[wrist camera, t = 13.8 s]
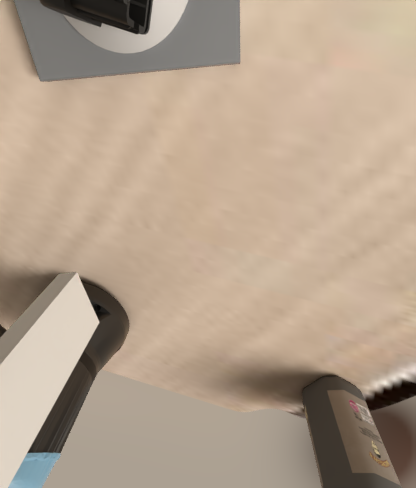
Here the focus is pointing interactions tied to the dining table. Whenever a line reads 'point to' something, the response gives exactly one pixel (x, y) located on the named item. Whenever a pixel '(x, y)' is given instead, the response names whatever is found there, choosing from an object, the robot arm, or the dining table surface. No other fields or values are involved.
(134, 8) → the end cap
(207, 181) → the dining table surface
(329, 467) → the liquor
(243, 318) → the dining table surface
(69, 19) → the plate
